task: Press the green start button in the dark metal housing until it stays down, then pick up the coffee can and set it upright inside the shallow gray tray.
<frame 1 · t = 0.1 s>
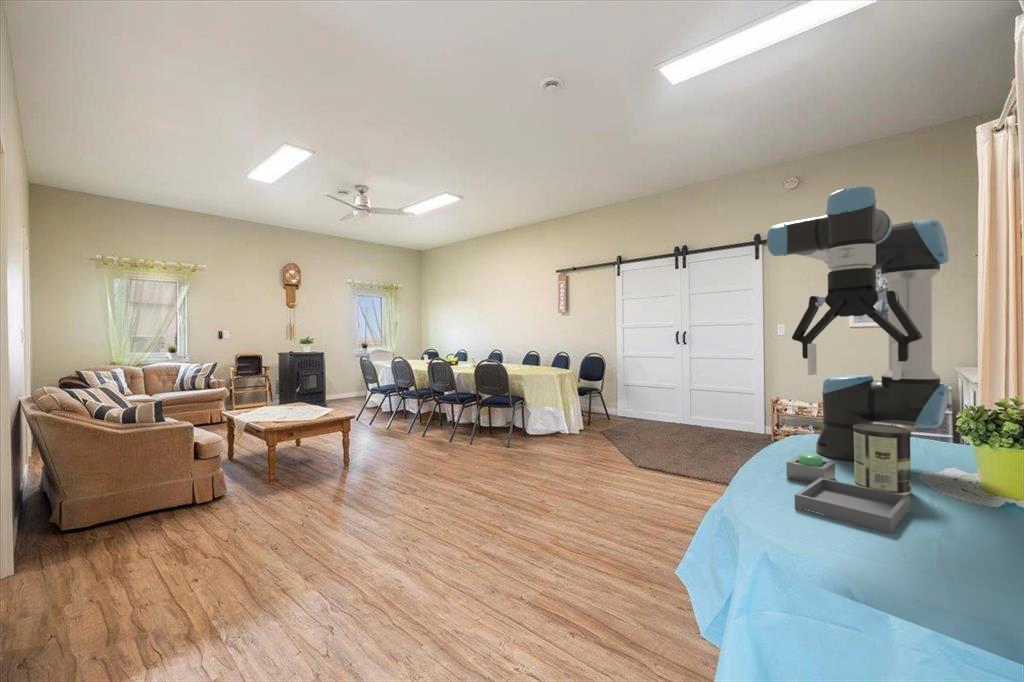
hand: (851, 376, 87), 28 cm above the table, tool pointing down, fingers open, 13 cm apart
shallow gray tray: (851, 508, 91), on the table
start button: (810, 464, 110), point 3 cm above the table, slide at 0.0 cm
button housing: (810, 477, 110), on the table
coffee can: (881, 488, 102), on the table
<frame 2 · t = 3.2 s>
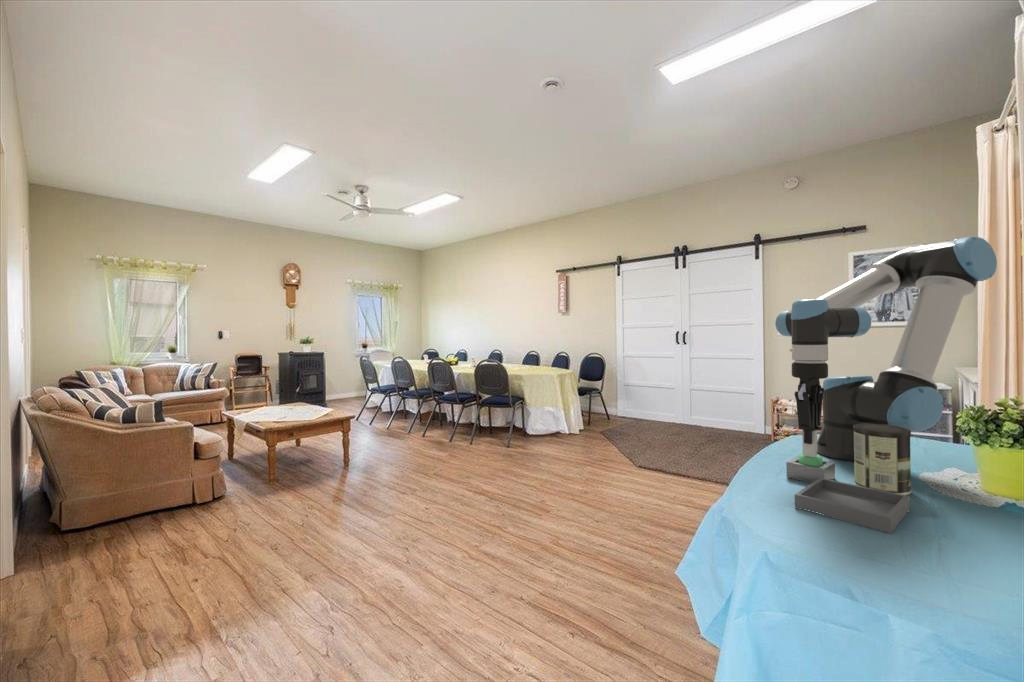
hand: (809, 455, 109), 6 cm above the table, tool pointing down, fingers closed
start button: (810, 464, 110), point 3 cm above the table, slide at 0.2 cm, touching gripper
everything else where it was.
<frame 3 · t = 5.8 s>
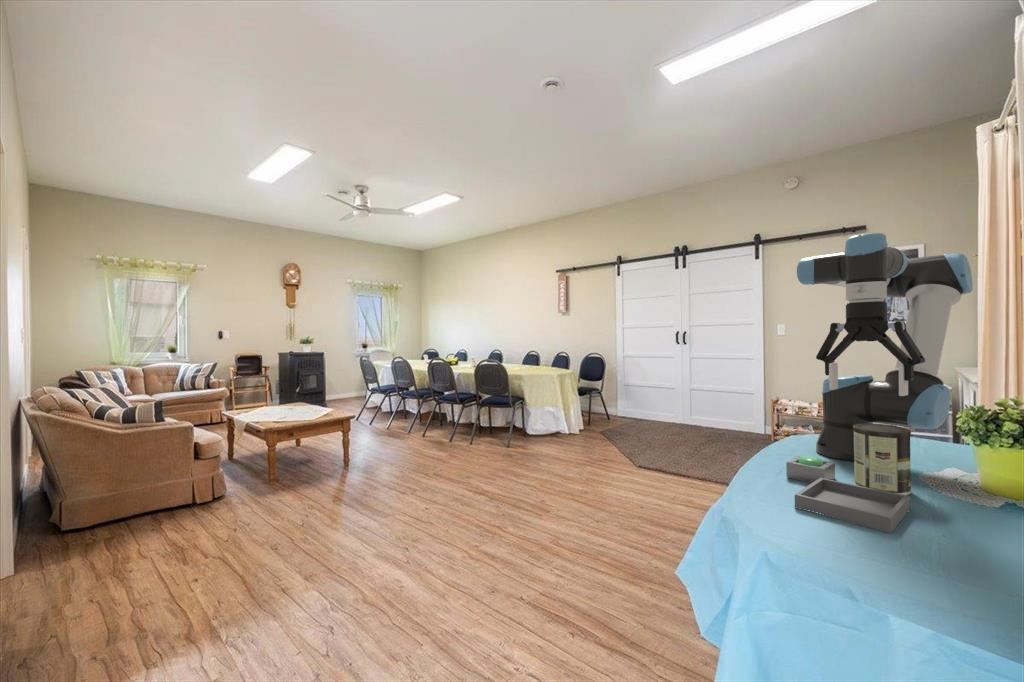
hand: (866, 392, 103), 22 cm above the table, tool pointing down, fingers open, 13 cm apart
start button: (810, 467, 110), point 3 cm above the table, slide at 0.8 cm
everything else where it was.
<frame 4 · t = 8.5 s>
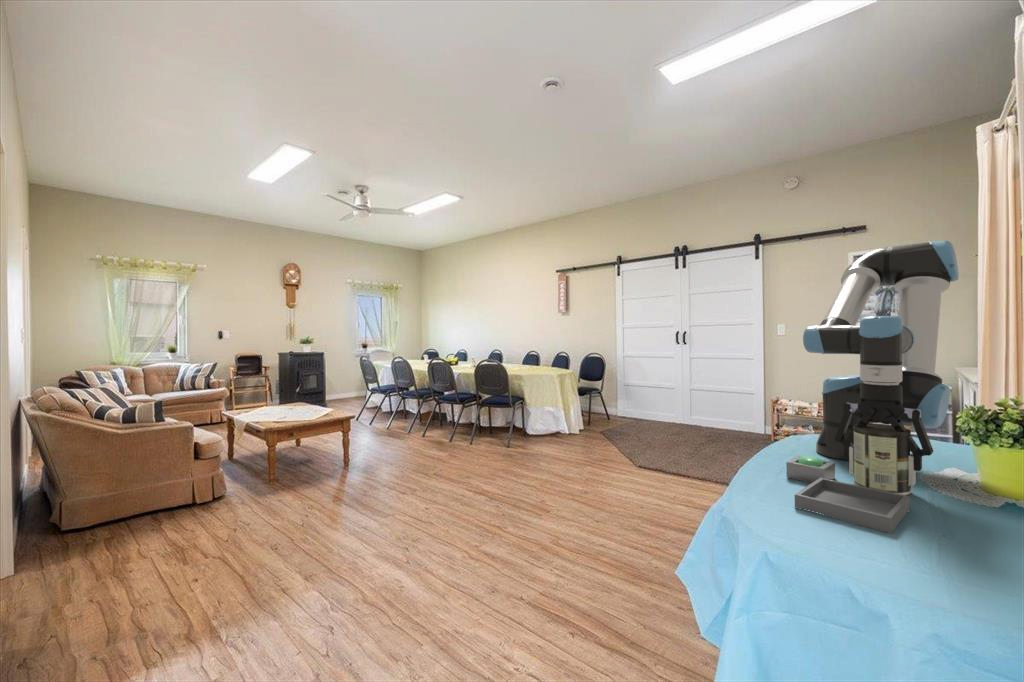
hand: (881, 478, 102), 2 cm above the table, tool pointing down, fingers closed on coffee can, 10 cm apart
coffee can: (881, 488, 102), on the table, touching gripper
everything else where it was.
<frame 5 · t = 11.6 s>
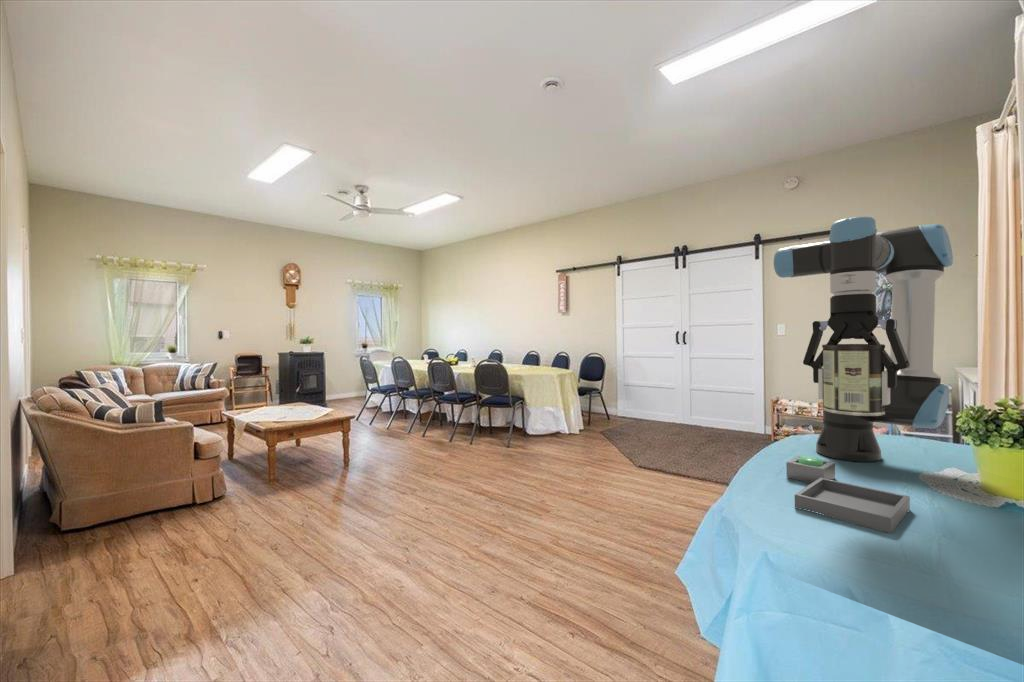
hand: (852, 401, 91), 22 cm above the table, tool pointing down, fingers closed on coffee can, 10 cm apart
coffee can: (852, 412, 91), point 20 cm above the table, touching gripper
everything else where it was.
when the fingers open (5 cm above the table, at t = 15.0 s): coffee can drops 2 cm, resting on shallow gray tray.
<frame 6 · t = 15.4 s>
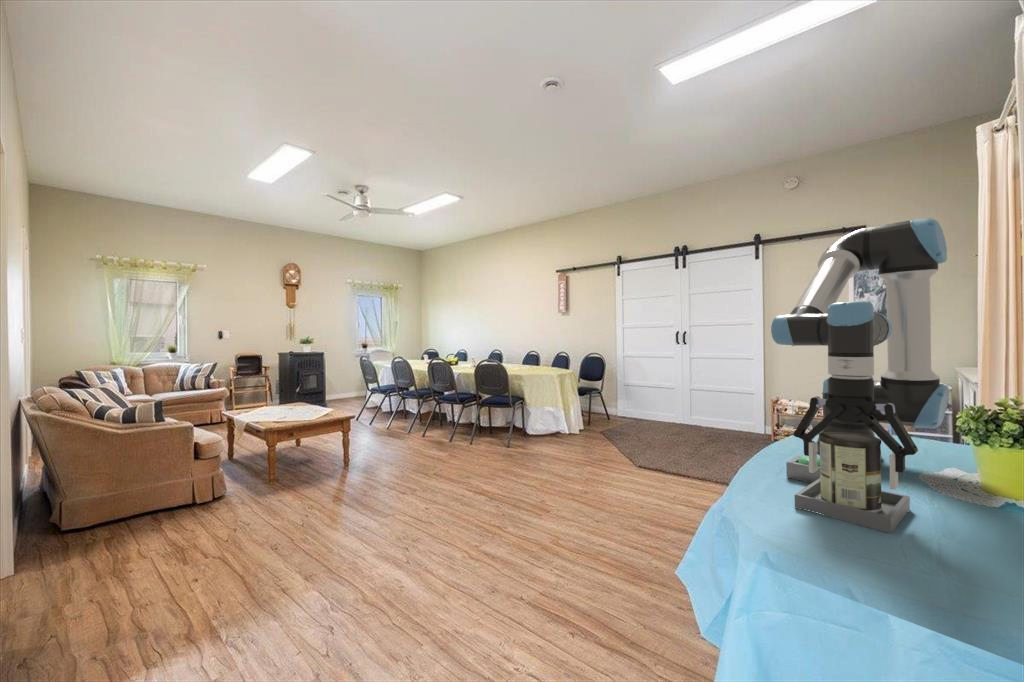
hand: (851, 479, 91), 6 cm above the table, tool pointing down, fingers open, 13 cm apart
coffee can: (849, 505, 91), point 1 cm above the table, touching shallow gray tray
everything else where it was.
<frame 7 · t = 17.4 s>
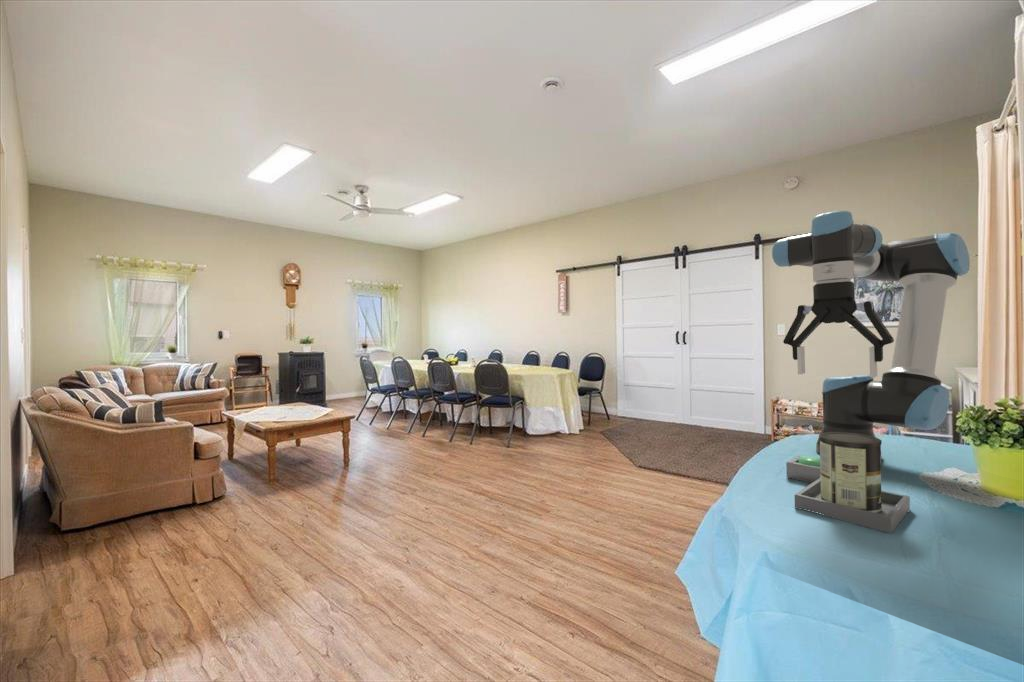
hand: (835, 375, 100), 27 cm above the table, tool pointing down, fingers open, 13 cm apart
nothing on the table moved.
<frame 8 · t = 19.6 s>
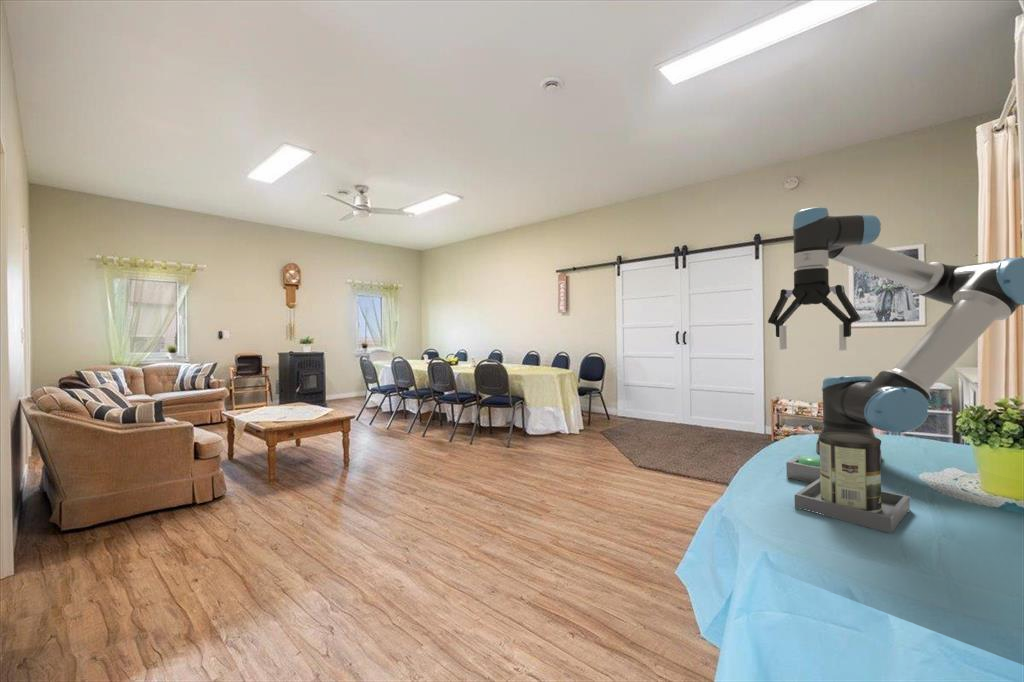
hand: (811, 349, 115), 32 cm above the table, tool pointing down, fingers open, 13 cm apart
nothing on the table moved.
at the end: coffee can 0.3 cm off-centre on the shallow gray tray, point 0.6 cm above the shallow gray tray's base; coffee can tilted 0°; start button slide at 0.8 cm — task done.
